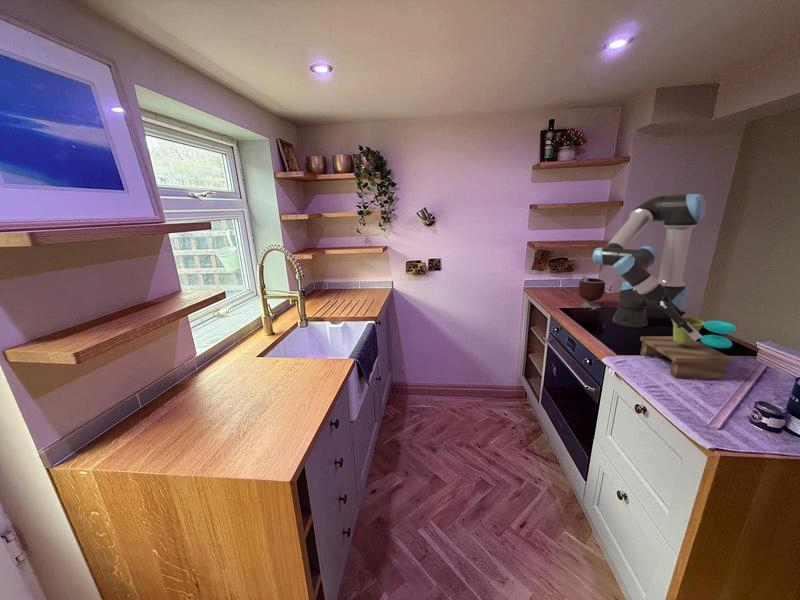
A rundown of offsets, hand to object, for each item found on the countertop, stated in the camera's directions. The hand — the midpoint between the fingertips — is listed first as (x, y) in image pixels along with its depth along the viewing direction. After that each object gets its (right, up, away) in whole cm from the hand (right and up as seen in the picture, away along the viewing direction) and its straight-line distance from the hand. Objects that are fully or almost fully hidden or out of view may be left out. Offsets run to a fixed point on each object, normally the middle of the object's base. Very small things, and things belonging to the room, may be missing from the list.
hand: (696, 333), depth 117 cm
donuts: (+28, -7, +21) cm, 36 cm away
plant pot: (-2, -4, +3) cm, 5 cm away
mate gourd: (+8, +9, +81) cm, 82 cm away
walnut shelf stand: (-2, -13, +6) cm, 14 cm away
